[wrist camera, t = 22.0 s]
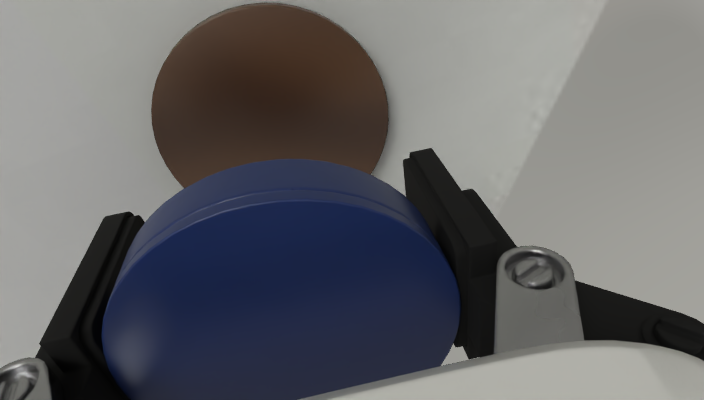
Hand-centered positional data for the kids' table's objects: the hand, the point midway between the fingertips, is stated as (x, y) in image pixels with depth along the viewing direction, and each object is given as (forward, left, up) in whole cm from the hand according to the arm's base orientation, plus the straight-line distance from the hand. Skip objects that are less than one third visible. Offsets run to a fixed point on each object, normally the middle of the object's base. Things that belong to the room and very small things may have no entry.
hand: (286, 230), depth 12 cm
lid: (0, 0, +4) cm, 4 cm away
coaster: (0, 0, -7) cm, 7 cm away
